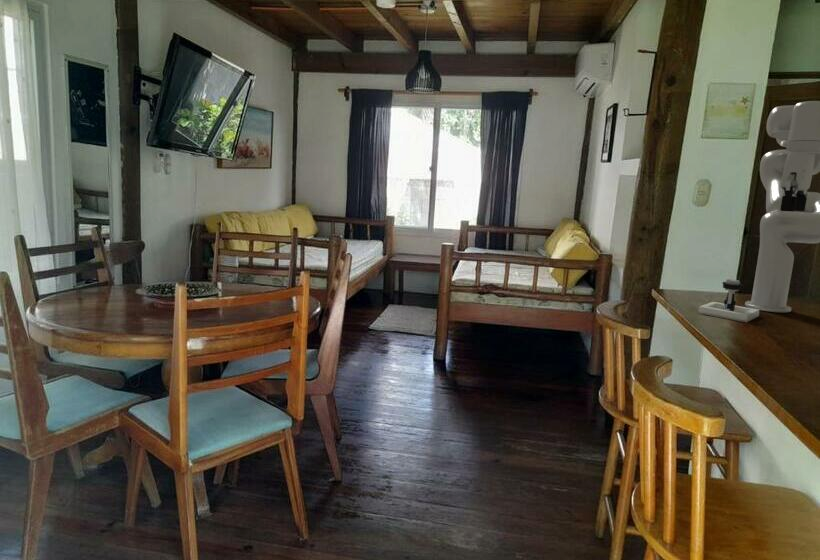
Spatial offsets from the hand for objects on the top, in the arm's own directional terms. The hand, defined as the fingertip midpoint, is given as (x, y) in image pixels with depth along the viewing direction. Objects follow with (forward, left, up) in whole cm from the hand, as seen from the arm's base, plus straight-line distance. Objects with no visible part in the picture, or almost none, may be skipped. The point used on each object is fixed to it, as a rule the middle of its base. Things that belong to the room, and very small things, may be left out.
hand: (792, 211), depth 148 cm
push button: (+3, -11, -32) cm, 34 cm away
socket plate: (+2, -11, -32) cm, 34 cm away
